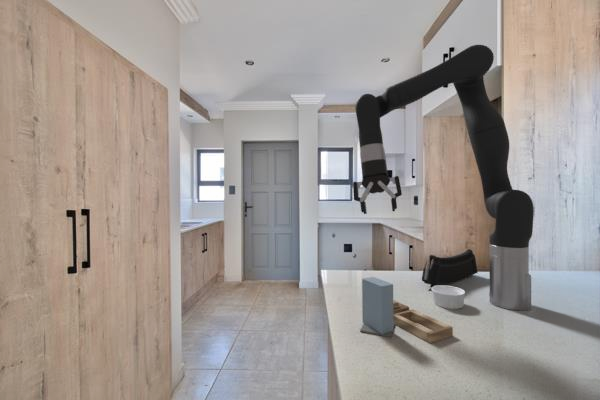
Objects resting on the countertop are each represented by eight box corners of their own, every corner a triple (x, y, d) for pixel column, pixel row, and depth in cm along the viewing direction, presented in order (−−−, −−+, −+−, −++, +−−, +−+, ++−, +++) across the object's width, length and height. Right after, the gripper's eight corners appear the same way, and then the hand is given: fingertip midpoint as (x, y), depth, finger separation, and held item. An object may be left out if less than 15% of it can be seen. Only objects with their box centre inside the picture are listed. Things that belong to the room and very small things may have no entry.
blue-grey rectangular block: (362, 322, 73) (362, 278, 73) (373, 319, 75) (373, 276, 74) (381, 334, 67) (381, 286, 67) (393, 330, 68) (393, 284, 68)
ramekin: (460, 313, 79) (460, 297, 79) (427, 305, 85) (427, 290, 85) (468, 303, 86) (468, 289, 86) (436, 296, 92) (436, 283, 92)
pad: (394, 324, 72) (394, 323, 72) (391, 337, 66) (391, 335, 66) (366, 320, 75) (366, 318, 75) (360, 331, 69) (360, 330, 69)
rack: (377, 314, 78) (376, 301, 78) (397, 309, 82) (397, 296, 82) (430, 343, 63) (430, 326, 63) (452, 335, 66) (452, 320, 66)
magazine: (472, 251, 118) (428, 235, 102) (481, 252, 115) (437, 236, 99) (465, 293, 115) (419, 284, 100) (474, 296, 112) (428, 287, 97)
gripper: (348, 162, 89) (354, 215, 88) (397, 154, 85) (403, 210, 84) (352, 165, 96) (357, 214, 95) (397, 158, 92) (403, 210, 91)
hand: (379, 212), depth 90 cm, fingers open, 8 cm apart
